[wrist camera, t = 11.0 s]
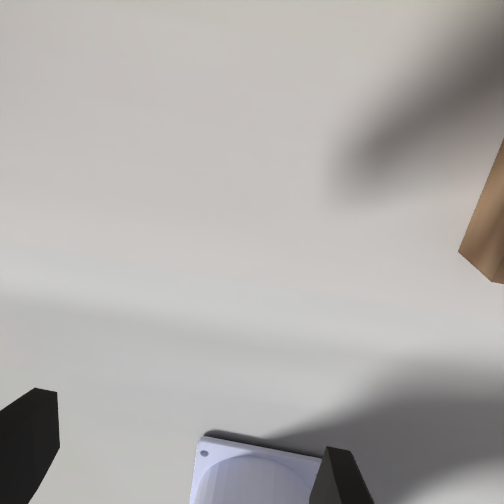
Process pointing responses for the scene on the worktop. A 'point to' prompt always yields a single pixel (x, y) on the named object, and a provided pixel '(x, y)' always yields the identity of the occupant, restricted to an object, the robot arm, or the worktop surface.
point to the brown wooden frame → (488, 226)
